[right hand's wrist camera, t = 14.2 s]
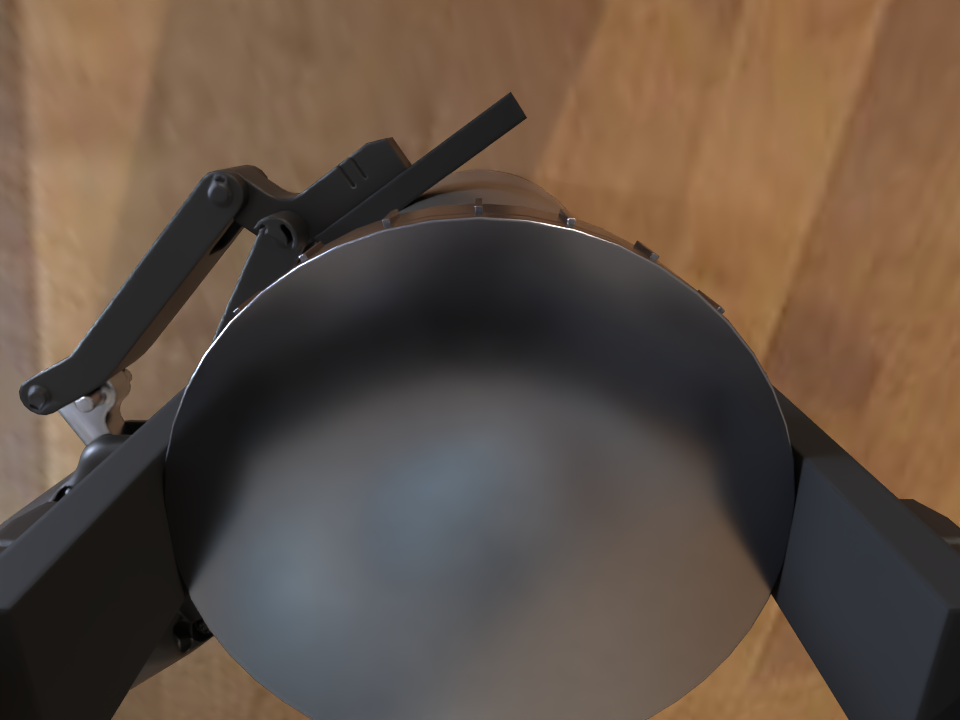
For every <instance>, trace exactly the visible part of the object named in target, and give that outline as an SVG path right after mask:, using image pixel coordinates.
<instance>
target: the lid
mask: <svg viewBox="0 0 960 720" xmlns="http://www.w3.org/2000/svg"><path fill="white" fill-rule="evenodd" d="M299 258H300V260H301V262H299V263H298V264H296V265H295V266H294V267H292V268H291V269H289V270H288V271H287V272H286V273H284V274H283V275H282V276H280V277H279V278H278V279H276V280H275V281H274V282H273V283H271V284H270V285H269V286H268V287H266V288H265V289H264V290H262V291H258V292H257V293H256V294H254V295H253V296H252V297H251V298H249V299H248V300H247V301H245V302H244V303H243V304H241V305H240V306H239V307H237V309H236V310H235V311H234V313H235V314H236V316H235V317H234V318H233V319H232V320H231V321H230V322H229V323H228V324H227V326H226V327H225V328H224V329H223V331H222V332H221V333H220V335H219V336H218V337H217V339H216V340H215V341H214V342H213V344H212V345H211V346H210V348H209V349H208V350H207V351H206V353H205V354H204V356H203V358H202V360H201V361H200V363H199V365H198V367H197V369H196V370H195V372H194V373H193V375H192V377H191V379H190V381H189V383H188V385H187V387H186V389H185V391H184V394H183V397H182V399H181V402H180V405H179V408H178V410H177V413H176V416H175V419H174V421H173V424H172V429H171V434H170V439H169V444H168V449H167V455H166V460H165V480H164V504H165V510H166V515H167V521H168V527H169V532H170V538H171V542H172V547H173V552H174V556H175V561H176V565H177V568H178V571H179V573H180V575H181V577H182V580H183V582H184V584H185V587H186V589H187V591H188V594H189V596H190V598H191V600H192V602H193V604H194V605H195V607H196V608H197V610H198V612H199V613H200V615H201V617H202V618H203V620H204V622H205V623H206V625H207V627H208V628H209V630H210V631H211V632H212V633H213V635H214V636H215V637H216V638H217V640H218V641H219V642H220V643H221V645H222V646H223V647H224V648H225V650H226V651H227V652H228V653H229V655H230V656H231V657H232V658H233V659H234V660H235V661H236V662H237V663H238V664H239V665H240V666H241V667H242V668H243V669H244V670H245V671H246V672H247V673H248V674H249V675H250V676H252V677H253V678H254V679H255V680H256V681H257V682H258V683H260V684H261V685H262V686H263V687H265V688H266V689H267V690H269V691H270V692H271V693H273V694H274V695H275V696H276V697H278V698H279V699H280V700H282V701H283V702H285V703H286V704H288V705H290V706H291V707H293V708H294V709H296V710H298V711H299V712H301V713H303V714H304V715H306V716H308V717H309V718H311V719H313V720H647V719H649V718H650V717H652V716H654V715H655V714H657V713H658V712H660V711H662V710H663V709H665V708H667V707H668V706H670V705H672V704H673V703H675V702H676V701H678V700H679V699H681V698H682V697H683V696H684V695H686V694H687V693H688V692H690V691H691V690H692V689H693V688H695V687H696V686H697V685H699V684H700V683H701V682H702V681H704V680H705V679H706V678H707V677H708V676H709V675H710V674H711V673H712V672H713V671H714V670H715V669H716V668H717V667H718V666H719V665H720V664H721V663H722V662H723V661H724V660H725V659H726V658H727V657H728V656H729V655H730V654H731V653H732V652H733V650H734V649H735V648H736V647H737V645H738V644H739V643H740V642H741V640H742V639H743V638H744V636H745V635H746V634H747V633H748V631H749V630H750V629H751V627H752V626H753V624H754V622H755V621H756V619H757V617H758V616H759V614H760V612H761V611H762V609H763V607H764V606H765V604H766V602H767V601H768V599H769V597H770V595H771V592H772V590H773V588H774V585H775V583H776V581H777V578H778V576H779V574H780V571H781V569H782V567H783V563H784V559H785V555H786V550H787V545H788V541H789V536H790V530H791V525H792V519H793V513H794V506H795V474H794V458H793V453H792V448H791V443H790V438H789V433H788V428H787V423H786V421H785V418H784V415H783V413H782V410H781V407H780V404H779V402H778V399H777V396H776V394H775V391H774V388H773V386H772V384H771V383H770V381H769V379H768V376H767V374H766V372H764V370H763V368H762V367H761V365H760V363H759V361H758V359H757V358H756V356H755V354H754V352H753V351H752V350H751V349H750V347H749V346H748V345H747V344H746V342H745V341H744V340H743V338H742V337H741V336H740V335H739V333H738V332H737V331H736V329H735V328H734V327H733V326H732V324H731V323H730V322H729V320H728V319H726V318H725V317H724V316H723V315H722V313H724V312H725V311H724V309H723V308H722V307H721V306H719V305H718V304H717V303H716V302H714V301H713V300H712V299H710V298H709V297H708V296H706V295H705V294H704V293H703V292H701V291H700V290H698V291H697V290H696V289H694V288H693V287H692V286H690V285H689V284H688V283H687V282H685V281H684V280H683V279H681V278H680V277H679V276H678V275H676V274H675V273H674V272H672V271H671V270H670V269H669V268H667V267H666V266H664V265H663V264H661V263H660V262H659V261H657V259H658V258H659V256H658V255H657V254H656V253H654V252H653V251H652V250H650V249H649V248H648V247H646V246H645V245H644V244H642V243H641V242H639V241H637V242H636V243H635V245H634V244H632V243H630V242H628V241H626V240H624V239H622V238H620V237H618V236H616V235H614V234H612V233H610V232H608V231H606V230H604V229H602V228H600V227H597V226H594V225H591V224H588V223H585V222H583V221H580V220H577V219H575V218H574V217H573V216H572V215H571V214H570V213H569V212H568V211H567V210H564V209H560V212H559V214H558V213H553V212H548V211H543V210H538V209H533V208H528V207H523V206H512V205H497V204H483V200H482V198H476V199H475V204H462V205H448V206H436V207H431V208H426V209H421V210H416V211H411V212H407V213H402V214H399V212H398V209H395V210H392V211H391V212H390V213H389V214H388V215H387V216H386V217H385V218H384V219H382V220H379V221H377V222H374V223H371V224H368V225H365V226H362V227H360V228H357V229H355V230H353V231H351V232H349V233H347V234H345V235H343V236H341V237H339V238H337V239H336V240H334V241H332V242H330V243H328V244H326V245H323V243H322V242H321V241H320V242H318V243H317V244H315V245H314V246H313V247H311V248H310V249H309V250H307V251H306V252H305V253H303V254H302V255H300V256H299Z"/></svg>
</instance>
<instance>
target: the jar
mask: <svg viewBox="0 0 960 720" xmlns="http://www.w3.org/2000/svg"><path fill="white" fill-rule="evenodd" d="M476 198H482V200H483V204H497V205H512V206H523V207H528V208H533V209H538V210H543V211H548V212H553V213H558V214H559V212H560V209H564V210H566V209H565V208H564V207H563V206H562V205H561V204H560V203H559V202H558V201H557V200H556V199H555V198H554V197H553V196H552V195H550V194H549V193H547V192H546V191H545V190H543V189H542V188H540V187H539V186H537V185H535V184H533V183H531V182H530V181H528V180H526V179H523V178H520V177H518V176H515V175H512V174H508V173H503V172H499V171H490V170H469V171H461V172H456V173H451V174H449V175H448V176H446V177H445V178H444V179H442V180H441V181H440V182H438V183H437V184H435V185H434V186H433V187H431V188H430V189H429V190H427V191H426V192H424V193H423V194H422V195H420V196H419V197H418V198H416V199H415V200H413V201H412V202H411V203H409V204H408V205H407V206H405V207H404V208H402V209H401V210H400V211H398V212H399V214H402V213H407V212H411V211H416V210H421V209H426V208H431V207H436V206H448V205H462V204H475V199H476Z"/></svg>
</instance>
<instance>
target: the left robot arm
mask: <svg viewBox="0 0 960 720" xmlns="http://www.w3.org/2000/svg"><path fill="white" fill-rule="evenodd" d="M526 118H527V117H526V115H525V114H524V112H523V111H522V109H521V107H520V106H519V104H518V103H517V101H516V99H515V98H514V96H513V95H512V93H511V92H510V93H509V94H507V95H506V96H505V97H503V98H502V99H501V100H499V101H498V102H497V103H495V104H494V105H492V106H491V107H490V108H488V109H487V110H486V111H484V112H483V113H482V114H480V115H479V116H478V117H476V118H475V119H474V120H472V121H471V122H470V123H468V124H467V125H465V126H464V127H463V128H461V129H460V130H459V131H457V132H456V133H455V134H453V135H452V136H451V137H449V138H448V139H447V140H445V141H444V142H443V143H441V144H440V145H439V146H437V147H436V148H434V149H433V150H432V151H430V152H429V153H428V154H426V155H425V156H424V157H422V158H421V159H420V160H418V161H417V162H416V163H414V164H413V165H411V163H410V162H409V160H408V159H407V157H406V156H405V155H404V153H403V152H402V150H401V149H400V147H399V146H398V145H397V143H396V142H395V140H394V139H393V137H392V138H386V139H382V140H378V141H374V142H370V143H366V144H365V145H364V146H362V147H361V148H360V149H358V150H357V151H356V152H355V153H353V154H352V155H351V156H350V157H348V158H347V159H345V160H344V161H343V162H341V163H340V164H339V165H338V166H336V167H335V168H334V169H332V170H331V171H330V172H328V173H327V174H326V175H324V176H323V177H322V178H320V179H319V180H318V181H317V182H315V183H314V184H313V185H311V186H310V187H309V188H307V189H306V190H305V191H303V192H302V193H291V192H288V191H286V190H284V189H282V188H280V187H279V186H278V185H276V184H275V183H273V182H272V181H270V180H269V179H268V178H267V176H266V175H265V173H264V172H263V171H262V170H261V169H259V168H257V167H255V166H251V165H244V166H238V167H232V168H227V169H222V170H217V171H213V172H209V173H208V174H206V175H205V176H204V177H203V178H202V179H201V180H200V182H199V183H198V184H197V186H196V187H195V189H194V190H193V191H192V193H191V194H190V195H189V197H188V198H187V199H186V201H185V202H184V203H183V205H182V206H181V207H180V209H179V210H178V211H177V213H176V214H175V216H174V217H173V218H172V220H171V221H170V222H169V224H168V225H167V226H166V228H165V229H164V230H163V232H162V233H161V234H160V236H159V237H158V238H157V240H156V241H155V242H154V244H153V245H152V247H151V248H150V249H149V251H148V252H147V253H146V255H145V256H144V257H143V259H142V260H141V261H140V263H139V264H138V265H137V267H136V268H135V269H134V271H133V272H132V274H131V275H130V276H129V278H128V279H127V280H126V282H125V283H124V284H123V286H122V287H121V288H120V290H119V291H118V292H117V294H116V295H115V296H114V298H113V299H112V300H111V302H110V303H109V305H108V306H107V307H106V309H105V310H104V311H103V313H102V314H101V315H100V317H99V318H98V319H97V321H96V322H95V323H94V325H93V326H92V327H91V329H90V330H89V332H88V333H87V334H86V336H85V337H84V338H83V340H82V341H81V342H80V344H79V345H78V346H77V348H76V349H75V350H74V352H73V353H72V354H71V355H70V356H68V357H67V358H65V359H63V360H61V361H60V362H58V363H56V364H54V365H53V366H51V367H49V368H47V369H46V370H44V371H42V372H40V373H39V374H37V375H35V376H33V377H32V378H30V379H28V380H26V381H25V382H24V383H23V384H22V385H21V387H20V390H19V394H20V399H21V401H22V403H23V404H24V406H25V407H27V408H28V409H29V410H30V411H32V412H34V413H36V414H40V415H48V414H51V413H54V412H56V411H58V412H59V413H60V414H61V415H62V417H63V418H64V419H65V420H66V422H67V423H68V424H69V425H70V427H71V428H72V429H73V430H74V431H75V433H76V434H77V435H78V436H79V438H80V439H81V440H82V441H83V442H84V444H85V445H86V447H85V449H84V450H83V452H82V454H81V457H80V460H79V464H78V466H77V469H76V470H75V471H74V472H73V473H71V474H70V475H68V476H67V477H66V478H64V479H63V480H61V481H60V482H59V483H57V484H56V485H55V486H53V487H52V488H50V489H49V490H48V491H46V492H45V493H43V494H42V495H41V496H39V497H38V498H36V499H35V500H34V501H32V502H31V503H30V504H28V505H27V506H25V507H24V508H23V509H21V510H20V511H18V512H17V513H16V514H14V515H13V516H11V517H10V518H9V519H7V520H6V521H5V522H3V523H2V524H1V525H0V530H2V529H3V528H4V527H5V526H6V525H7V524H9V523H10V522H11V521H12V520H14V519H16V518H18V517H19V516H21V515H23V514H25V513H27V512H29V511H31V510H32V509H34V508H36V507H38V506H40V505H42V504H44V503H46V502H58V501H59V500H60V499H61V498H63V497H64V496H65V495H66V494H67V493H68V492H69V491H70V490H71V489H73V488H74V487H75V486H76V485H77V484H78V483H79V482H80V481H81V480H83V479H84V478H85V477H86V476H87V475H88V474H89V473H90V472H91V471H93V470H94V469H95V468H96V467H97V466H98V465H99V464H100V463H101V462H103V461H104V460H105V459H106V458H107V457H108V456H109V455H110V454H111V453H113V452H114V451H115V450H116V449H117V448H118V447H119V446H120V445H121V444H122V443H124V442H125V441H126V440H127V439H128V438H129V437H130V436H131V435H132V434H134V433H135V432H136V431H137V430H138V429H139V428H140V427H141V426H142V425H144V424H145V423H146V422H147V421H148V420H126V421H124V419H123V418H122V416H121V413H120V405H121V403H122V401H123V400H124V399H125V398H126V397H127V395H128V394H129V392H130V388H131V385H130V382H131V380H132V375H131V373H130V371H128V370H127V369H125V368H126V367H128V366H129V365H131V364H132V363H133V362H135V361H136V360H137V359H138V358H140V357H141V356H142V355H143V354H144V353H145V352H146V351H147V350H148V349H149V348H150V347H151V346H152V345H153V343H154V342H155V341H156V339H157V338H158V337H159V336H160V334H161V333H162V332H163V331H164V329H165V328H166V327H167V325H168V324H169V323H170V322H171V320H172V319H173V318H174V316H175V315H176V314H177V313H178V311H179V310H180V309H181V307H182V306H183V305H184V304H185V302H186V301H187V300H188V299H189V297H190V296H191V295H192V293H193V292H194V291H195V290H196V288H197V287H198V286H199V284H200V283H201V282H202V281H203V279H204V278H205V277H206V276H207V274H208V273H209V272H210V270H211V269H212V268H213V267H214V265H215V264H216V263H217V261H218V260H219V259H220V258H221V256H222V255H223V254H224V253H225V251H226V250H227V249H228V247H229V246H230V245H231V244H232V242H233V241H234V240H235V238H236V237H237V236H238V235H239V233H240V232H241V231H242V230H243V228H244V227H245V228H246V229H248V230H249V231H251V232H252V233H254V234H255V235H257V238H256V240H255V242H254V245H253V247H252V249H251V252H250V254H249V256H248V259H247V261H246V263H245V266H244V268H243V270H242V273H241V275H240V278H239V280H238V282H237V285H236V287H235V289H234V292H233V294H232V296H231V299H230V301H229V303H228V306H227V308H226V310H225V313H224V315H223V317H222V320H221V322H220V324H219V327H218V329H217V331H216V334H215V336H214V338H213V341H212V343H211V345H212V344H213V342H214V341H215V340H216V339H217V337H218V336H219V335H220V333H221V332H222V331H223V329H224V328H225V327H226V326H227V324H228V323H229V322H230V321H231V320H232V319H233V318H234V317H235V316H236V314H235V313H234V311H235V310H236V309H237V307H239V306H240V305H241V304H243V303H244V302H245V301H247V300H248V299H249V298H251V297H252V296H253V295H254V294H256V293H257V292H258V291H262V290H264V289H265V288H266V287H268V286H269V285H270V284H271V283H273V282H274V281H275V280H276V279H278V278H279V277H280V276H282V275H283V274H284V273H286V272H287V271H288V270H289V269H291V268H292V267H294V266H295V265H296V264H298V263H299V262H301V260H300V258H299V256H300V255H302V254H303V253H305V252H306V251H307V250H309V249H310V248H311V247H313V246H314V245H315V244H317V243H318V242H320V241H321V242H322V243H323V245H326V244H328V243H330V242H332V241H334V240H336V239H337V238H339V237H341V236H343V235H345V234H347V233H349V232H351V231H353V230H355V229H357V228H360V227H362V226H365V225H368V224H371V223H374V222H377V221H379V220H382V219H384V218H385V217H386V216H387V215H388V214H389V213H390V212H391V211H392V210H395V209H398V211H400V210H401V209H402V208H404V207H405V206H407V205H408V204H409V203H411V202H412V201H413V200H415V199H416V198H418V197H419V196H420V195H422V194H423V193H424V192H426V191H427V190H429V189H430V188H431V187H433V186H434V185H435V184H437V183H438V182H440V181H441V180H442V179H444V178H445V177H446V176H448V175H449V174H451V173H452V172H453V171H455V170H456V169H457V168H459V167H460V166H462V165H463V164H464V163H466V162H467V161H468V160H470V159H471V158H473V157H474V156H475V155H477V154H478V153H479V152H481V151H482V150H483V149H485V148H486V147H488V146H489V145H490V144H492V143H493V142H494V141H496V140H497V139H499V138H500V137H501V136H503V135H504V134H505V133H507V132H508V131H510V130H511V129H512V128H514V127H515V126H516V125H518V124H519V123H521V122H522V121H523V120H525V119H526ZM211 345H210V346H211ZM213 636H214V635H213V633H212V632H211V631H210V630H209V628H208V627H207V625H206V623H205V622H204V620H203V618H202V617H201V615H200V613H199V612H198V610H197V608H196V607H195V605H194V604H193V602H192V600H191V598H190V596H189V594H188V595H187V597H186V598H185V600H184V602H183V603H182V605H181V607H180V608H179V610H178V611H177V613H176V615H175V616H174V618H173V620H172V621H171V623H170V624H169V626H168V628H167V629H166V631H165V633H164V634H163V636H162V637H161V639H160V641H159V642H158V644H157V646H156V647H155V649H154V650H153V652H152V654H151V655H150V657H149V658H148V660H147V662H146V663H145V665H144V667H143V668H142V670H141V671H140V673H139V675H138V676H137V678H136V680H135V681H134V683H133V684H132V686H131V688H130V689H132V688H134V687H135V686H137V685H139V684H140V683H142V682H144V681H145V680H147V679H149V678H150V677H152V676H153V675H155V674H157V673H158V672H160V671H162V670H163V669H165V668H167V667H168V666H170V665H172V664H173V663H175V662H177V661H178V660H180V659H181V658H183V657H185V656H186V655H188V654H190V653H191V652H193V651H194V650H195V649H197V648H198V647H200V646H201V645H202V644H204V643H205V642H206V641H208V640H209V639H210V638H211V637H213ZM130 689H129V690H130Z"/></svg>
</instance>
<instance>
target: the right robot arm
mask: <svg viewBox="0 0 960 720" xmlns="http://www.w3.org/2000/svg"><path fill="white" fill-rule="evenodd" d="M772 386H773V385H772ZM186 387H187V386H186ZM186 387H185V388H184V389H182V390H181V391H180V392H179V393H178V394H177V395H176V396H175V397H174V398H172V399H171V400H170V401H169V402H168V403H167V404H166V405H165V406H164V407H162V408H161V409H160V410H159V411H158V412H157V413H156V414H155V415H154V416H152V417H151V418H150V419H149V420H148V421H147V422H146V423H145V424H144V425H142V426H141V427H140V428H139V429H138V430H137V431H136V432H135V433H134V434H132V435H131V436H130V437H129V438H128V439H127V440H126V441H125V442H124V443H122V444H121V445H120V446H119V447H118V448H117V449H116V450H115V451H114V452H113V453H111V454H110V455H109V456H108V457H107V458H106V459H105V460H104V461H103V462H101V463H100V464H99V465H98V466H97V467H96V468H95V469H94V470H93V471H91V472H90V473H89V474H88V475H87V476H86V477H85V478H84V479H83V480H81V481H80V482H79V483H78V484H77V485H76V486H75V487H74V488H73V489H71V490H70V491H69V492H68V493H67V494H66V495H65V496H64V497H63V498H61V499H60V500H59V501H58V502H46V503H44V504H42V505H40V506H38V507H36V508H34V509H32V510H31V511H29V512H27V513H25V514H23V515H21V516H19V517H18V518H16V519H14V520H12V521H11V522H10V523H9V524H7V525H6V526H5V527H4V528H3V529H2V530H0V720H111V718H112V717H113V715H114V714H115V712H116V710H117V709H118V707H119V706H120V704H121V702H122V701H123V699H124V697H125V696H126V694H127V693H128V691H129V689H130V688H131V686H132V684H133V683H134V681H135V680H136V678H137V676H138V675H139V673H140V671H141V670H142V668H143V667H144V665H145V663H146V662H147V660H148V658H149V657H150V655H151V654H152V652H153V650H154V649H155V647H156V646H157V644H158V642H159V641H160V639H161V637H162V636H163V634H164V633H165V631H166V629H167V628H168V626H169V624H170V623H171V621H172V620H173V618H174V616H175V615H176V613H177V611H178V610H179V608H180V607H181V605H182V603H183V602H184V600H185V598H186V597H187V595H188V591H187V589H186V587H185V584H184V582H183V580H182V577H181V575H180V573H179V571H178V568H177V565H176V561H175V556H174V552H173V547H172V542H171V538H170V532H169V527H168V521H167V515H166V510H165V504H164V480H165V460H166V455H167V449H168V444H169V439H170V434H171V429H172V424H173V421H174V419H175V416H176V413H177V410H178V408H179V405H180V402H181V399H182V397H183V394H184V391H185V389H186ZM773 388H774V391H775V394H776V396H777V399H778V402H779V404H780V407H781V410H782V413H783V415H784V418H785V421H786V423H787V428H788V433H789V438H790V443H791V448H792V453H793V458H794V474H795V506H794V513H793V519H792V525H791V530H790V536H789V541H788V545H787V550H786V555H785V559H784V563H783V567H782V569H781V571H780V574H779V576H778V578H777V581H776V583H775V585H774V588H773V590H772V592H771V594H772V596H773V597H774V599H775V601H776V602H777V604H778V606H779V607H780V609H781V610H782V612H783V614H784V615H785V617H786V619H787V620H788V622H789V623H790V625H791V627H792V628H793V630H794V632H795V633H796V635H797V636H798V638H799V640H800V641H801V643H802V645H803V646H804V648H805V649H806V651H807V653H808V654H809V656H810V658H811V659H812V661H813V662H814V664H815V666H816V667H817V669H818V670H819V672H820V674H821V675H822V677H823V679H824V680H825V682H826V683H827V685H828V687H829V688H830V690H831V692H832V693H833V695H834V696H835V698H836V700H837V701H838V703H839V705H840V706H841V708H842V709H843V711H844V713H845V714H846V716H847V718H848V719H849V720H960V528H959V527H958V526H957V525H956V524H954V523H953V522H952V521H951V520H950V519H949V518H947V517H945V516H943V515H942V514H940V513H938V512H936V511H934V510H932V509H930V508H928V507H926V506H925V505H923V504H921V503H919V502H917V501H915V500H913V499H898V498H897V497H896V496H895V495H894V494H893V493H891V492H890V491H889V490H888V489H887V488H886V487H885V486H884V485H883V484H881V483H880V482H879V481H878V480H877V479H876V478H875V477H874V476H873V475H871V474H870V473H869V472H868V471H867V470H866V469H865V468H864V467H863V466H861V465H860V464H859V463H858V462H857V461H856V460H855V459H854V458H853V457H852V456H850V455H849V454H848V453H847V452H846V451H845V450H844V449H843V448H842V447H840V446H839V445H838V444H837V443H836V442H835V441H834V440H833V439H832V438H830V437H829V436H828V435H827V434H826V433H825V432H824V431H823V430H822V429H820V428H819V427H818V426H817V425H816V424H815V423H814V422H813V421H812V420H810V419H809V418H808V417H807V416H806V415H805V414H804V413H803V412H802V411H800V410H799V409H798V408H797V407H796V406H795V405H794V404H793V403H792V402H791V401H789V400H788V399H787V398H786V397H785V396H784V395H783V394H782V393H781V392H779V391H778V390H777V389H776V388H775V387H774V386H773Z"/></svg>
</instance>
